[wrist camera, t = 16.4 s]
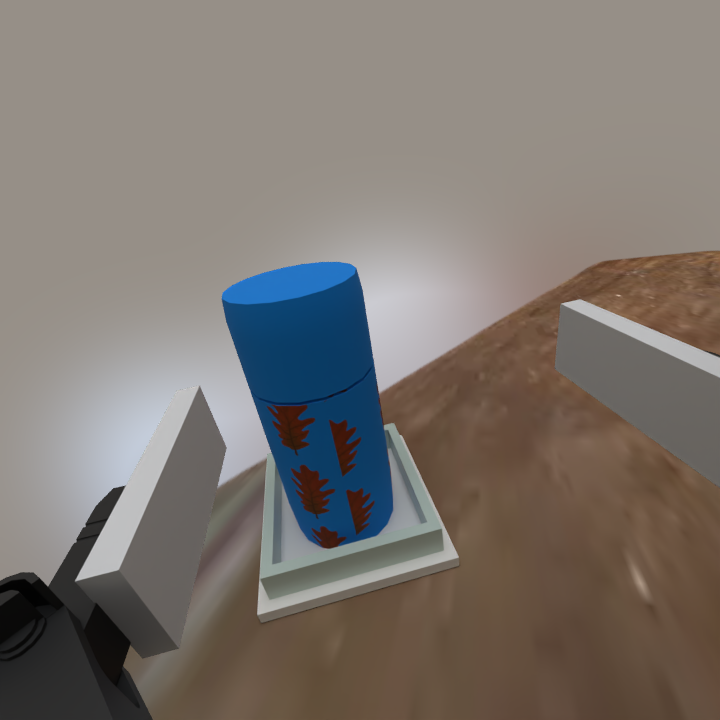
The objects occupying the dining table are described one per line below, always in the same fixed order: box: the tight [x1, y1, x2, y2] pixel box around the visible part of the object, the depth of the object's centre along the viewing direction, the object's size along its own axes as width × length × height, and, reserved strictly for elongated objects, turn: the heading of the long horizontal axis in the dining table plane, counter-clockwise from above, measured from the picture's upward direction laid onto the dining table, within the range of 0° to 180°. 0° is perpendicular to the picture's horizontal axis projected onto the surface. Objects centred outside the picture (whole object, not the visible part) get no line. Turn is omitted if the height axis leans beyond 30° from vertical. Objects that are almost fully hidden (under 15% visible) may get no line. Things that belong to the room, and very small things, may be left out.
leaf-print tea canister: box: [222, 262, 393, 549], centre depth 34 cm, size 11×11×25 cm
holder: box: [257, 423, 459, 623], centre depth 40 cm, size 18×18×4 cm
